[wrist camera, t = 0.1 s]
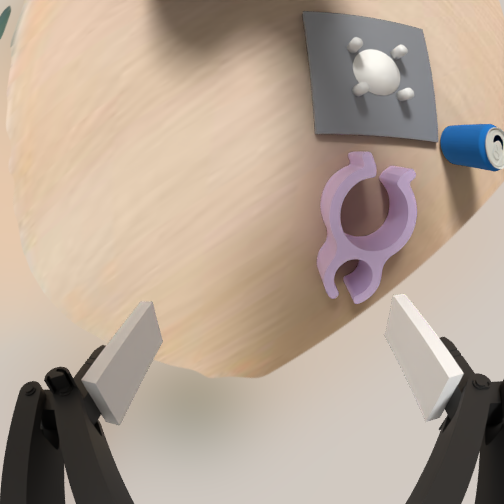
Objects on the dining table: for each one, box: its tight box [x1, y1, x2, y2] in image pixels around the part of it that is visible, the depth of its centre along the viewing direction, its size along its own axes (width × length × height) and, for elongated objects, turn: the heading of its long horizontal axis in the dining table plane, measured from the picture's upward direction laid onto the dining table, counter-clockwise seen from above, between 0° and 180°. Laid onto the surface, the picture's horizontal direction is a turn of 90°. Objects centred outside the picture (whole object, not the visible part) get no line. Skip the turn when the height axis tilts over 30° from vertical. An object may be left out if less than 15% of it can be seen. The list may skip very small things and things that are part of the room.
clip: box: [317, 151, 417, 304], centre depth 37 cm, size 20×12×7 cm, turn 167°
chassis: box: [302, 11, 438, 142], centre depth 30 cm, size 20×20×4 cm
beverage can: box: [440, 124, 504, 171], centre depth 29 cm, size 6×6×12 cm
